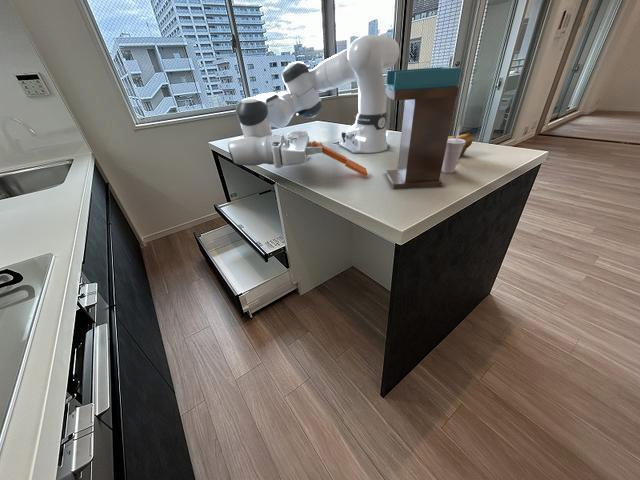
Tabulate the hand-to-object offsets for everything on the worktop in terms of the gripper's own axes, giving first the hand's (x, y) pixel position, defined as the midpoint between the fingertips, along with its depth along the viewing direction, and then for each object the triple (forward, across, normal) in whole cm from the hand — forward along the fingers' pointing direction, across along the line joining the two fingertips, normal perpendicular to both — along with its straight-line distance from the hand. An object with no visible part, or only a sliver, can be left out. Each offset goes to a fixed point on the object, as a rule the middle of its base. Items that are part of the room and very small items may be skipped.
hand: (322, 147), depth 83 cm
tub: (+26, +6, +16) cm, 31 cm away
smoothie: (+41, 0, -10) cm, 42 cm away
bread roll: (+47, -17, -10) cm, 51 cm away
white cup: (-10, -23, -10) cm, 27 cm away
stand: (+26, +6, -10) cm, 29 cm away
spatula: (+5, 0, -4) cm, 7 cm away
